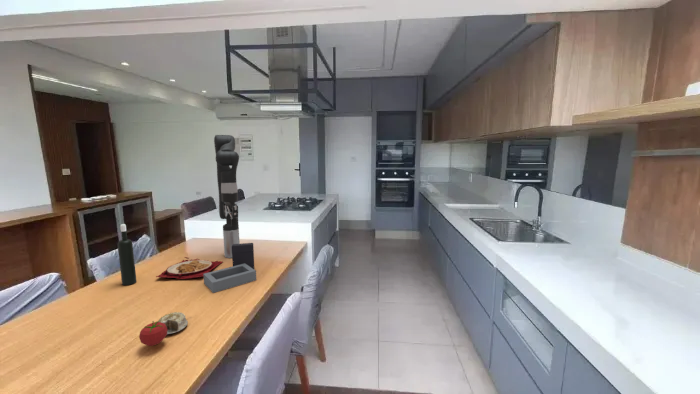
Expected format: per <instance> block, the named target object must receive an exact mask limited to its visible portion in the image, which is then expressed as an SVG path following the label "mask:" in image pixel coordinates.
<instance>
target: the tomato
mask: <svg viewBox="0 0 700 394" xmlns="http://www.w3.org/2000/svg"><path fill="white" fill-rule="evenodd" d="M158 321H159V320H158ZM158 321H155V322H154V320H152V322H151V323H148V324H146V325H145V326H143V328H142V329H141V330H140V331H139V335H138V336H139V337H138V339H139V340H140V343H141V344H143V345H145V346H147V347H152V346H156V345H158V344H160V343H161V342H162V341H164V340H165V338H166V336H167V335H168V334H167V330H168V329H167V327H166V325H165V324H164V323H161V322H158Z"/></svg>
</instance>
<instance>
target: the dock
mask: <svg viewBox="0 0 700 394" xmlns="http://www.w3.org/2000/svg"><path fill="white" fill-rule="evenodd" d="M255 281H257V270H256V269H255V268H254V269H253V268H251V267H250V266H248V265H247V264H245V263H244V264H240V265H236V266H233V265H231V266H230V267H225V268H222V269H217V270H213V271H212V270H211V271H209V272H208V273H204V274H203V284H204V285H205V286H206V287H207V288H208V289H209V290H210V291H211V293H213V294H214V293H218V292H221V291H224V290H225V291H226V290H229V289H231V288H235V287H238V286H241V285H245V284H248V283H251V282H255Z"/></svg>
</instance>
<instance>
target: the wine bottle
mask: <svg viewBox="0 0 700 394" xmlns="http://www.w3.org/2000/svg"><path fill="white" fill-rule="evenodd" d="M119 227H120V232H121V233H120V234H121V240H119V241H118V242H117V249H118V250H117V251H118V260H119V270H120V276H121V285H122V286H129V285H134V284H135V283H136V282H137V273H136V263H135V255H134V245H133V241H132V240H131V239H129V238H128V235H127V225H126V224H125V223H121V224H120V226H119Z"/></svg>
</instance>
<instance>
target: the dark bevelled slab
mask: <svg viewBox="0 0 700 394" xmlns="http://www.w3.org/2000/svg"><path fill="white" fill-rule="evenodd" d="M254 248H255V247H254V243H253V242H246V243H240V244H233V245H232V258H231V259H232V266H236V265H240V264H244V263H245V264H247V265H248V266H250V267H251V268H253V269H254V270H255V252H254Z"/></svg>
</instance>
